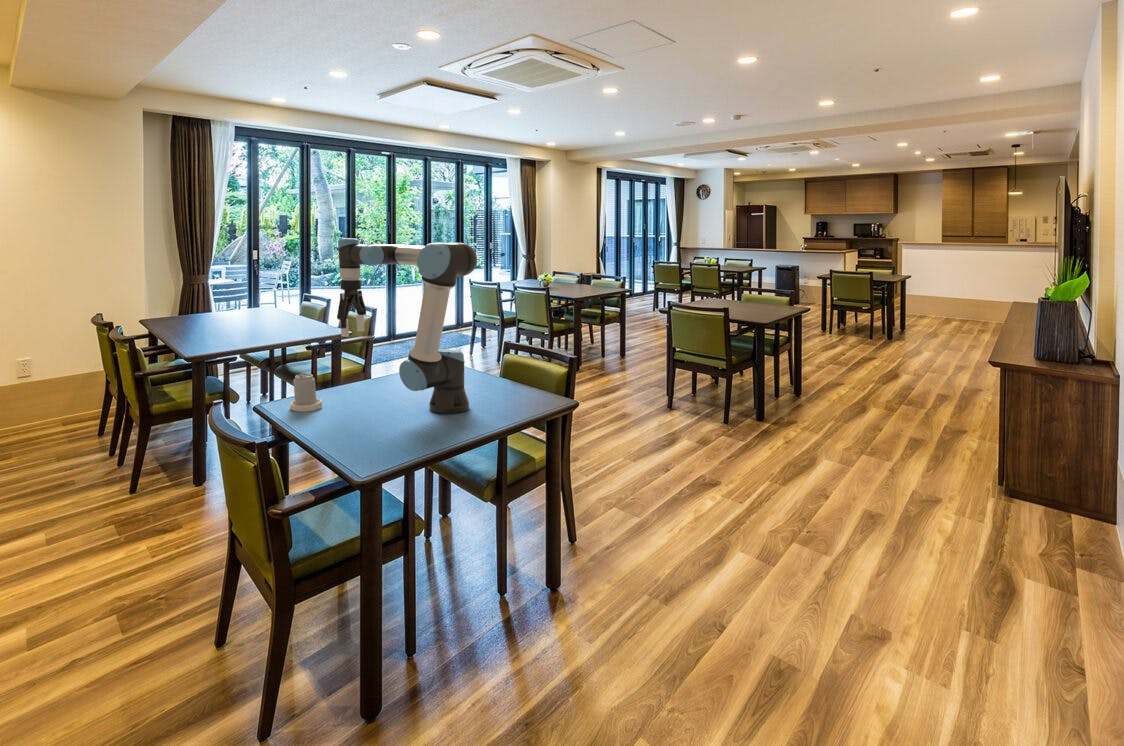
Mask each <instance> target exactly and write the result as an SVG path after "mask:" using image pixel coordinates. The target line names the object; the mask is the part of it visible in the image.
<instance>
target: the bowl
mask: <svg viewBox="0 0 1124 746" xmlns="http://www.w3.org/2000/svg"><path fill="white" fill-rule="evenodd" d="M322 408H323V400H322V398H317V397H316V404H311V405H295V399H293V400H291V401H290V410H291V411H292V412H298V413H304V412H305V413H306V412H314V411H318V410H320V409H322Z"/></svg>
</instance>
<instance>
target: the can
mask: <svg viewBox="0 0 1124 746" xmlns="http://www.w3.org/2000/svg"><path fill="white" fill-rule="evenodd" d="M292 380H293V390H294V400H295V405H311V404H316V398H317V389H316V388H317V387H316V379H315V377H313V374H311V373H302V374H301V373H300V374H296V375H295V378H294V379H292Z"/></svg>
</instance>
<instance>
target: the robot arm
mask: <svg viewBox="0 0 1124 746" xmlns="http://www.w3.org/2000/svg"><path fill="white" fill-rule="evenodd" d="M359 241H360V240H359V239H358V238H350V237H349V238H348V237H346V238H345V237H344V238H343V237H342V238H338V242H337V243H338V247H337V251H338V262H339V263H338V265H339V270H338V273H339V278H340V279H341V280H340V285H339V286H340V290H343V291H344V293H343V292H340V294H339V302H338V309H337V314H336V319H337V320H339V321H340V335H341V337H344V338H345V337H346V338H350V331H349V330H350V327H349V319H348V316H349V313H350V311H351V310H350V309H351V306H353V307H354V309H355V311H356V331H357V332H365V317H364V316H366V315H367V309H366V304H365V301H364V296H363V290H362V281H361V278H362V276H361V275H362V274H361V265H362V266H363V265H364V266H365V265H366V266H370V267H371V266H379V265H399V266H401V265H404V266H412V267H413V266H415V267H417V268H418V272H419V274H420V275H421V281H422V282H423V283H424V288H423V294H422V295H423V296H422V300H421V306H420V312H419V319H418V323H417V330H416V336H415V341H414V345H413V347H412V348H411V349H409V352H408V356H407V359H405V360H403V361H402V362H401V363H400V365H399V368H398V369H399V370H398V371H399V378H400V380H401V382H402V384H403V385H404V386H405V388H407V389H408V390H410V391H412V392H420V391H425V390H427V389H432V388H433V390H432V394H431V396H430V397H431V398H430V401H429V410H430V411H431V412H433V413H435V412H436V413H435V414H442V413H445V414H447V413H453V414H458V413H457V412H460V413H464V412H466V410H467V409H468V408H469V409H470V401H469V398H468V395H467V393H466V389H465V356H464V355H465V354H464V353H463V352H462V351H460V350H456V349H455V350H454V349H446V348H440V344H441V340H442V335H443V334H442V333H443V330H444V329H443V328H444V325H445V318H446V314H447V307H448V302H449V297H450V293H451V290H452V289H453V288H454V287H456V284H457V279H458V278H459V277H465V276H468V275H471V273H472V272H474V270H475V269H476V267H477V263H478V256H477V253H476V250H474V248H473V247H472V246H471V245H469V244H467V243H462V242H441V241H439V242H438V241H437V242H431V243H428V244H426V245H410V244H402V243H401V244H399V243H395V244H370V243H369V244H361V243H360V242H359ZM469 409H468V410H469ZM468 410H467V411H468ZM463 411H464V412H463ZM445 414H444V415H445Z"/></svg>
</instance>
